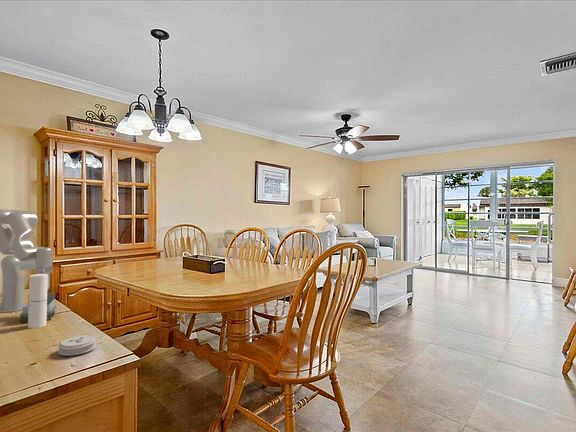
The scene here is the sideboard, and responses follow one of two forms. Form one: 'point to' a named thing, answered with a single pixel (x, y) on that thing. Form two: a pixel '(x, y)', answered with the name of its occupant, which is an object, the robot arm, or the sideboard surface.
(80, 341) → the lid
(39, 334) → the sideboard surface
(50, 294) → the grey open box
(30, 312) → the cylindrical container
